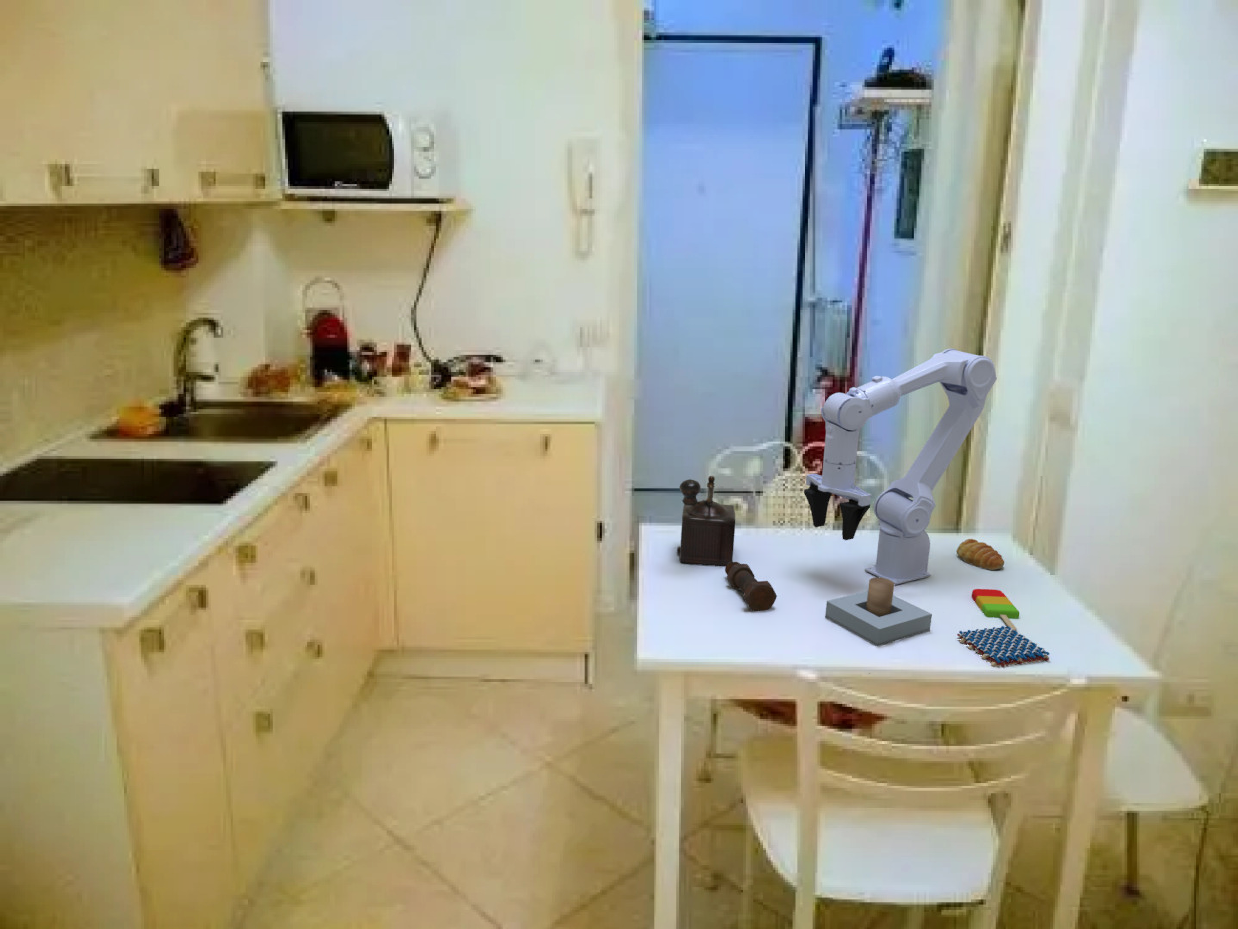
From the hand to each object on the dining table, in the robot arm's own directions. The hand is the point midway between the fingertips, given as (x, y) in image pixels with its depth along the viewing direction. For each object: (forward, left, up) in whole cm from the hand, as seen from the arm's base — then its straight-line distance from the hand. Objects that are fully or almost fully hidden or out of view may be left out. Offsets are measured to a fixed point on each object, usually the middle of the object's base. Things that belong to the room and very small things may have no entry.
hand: (833, 532), depth 166 cm
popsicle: (-17, +24, -10) cm, 31 cm away
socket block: (+5, +17, -10) cm, 20 cm away
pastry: (-35, +6, -10) cm, 37 cm away
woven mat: (-6, +33, -11) cm, 35 cm away
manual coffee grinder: (+14, -20, -10) cm, 26 cm away
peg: (+5, +17, -9) cm, 20 cm away
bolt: (+17, -3, -10) cm, 20 cm away
